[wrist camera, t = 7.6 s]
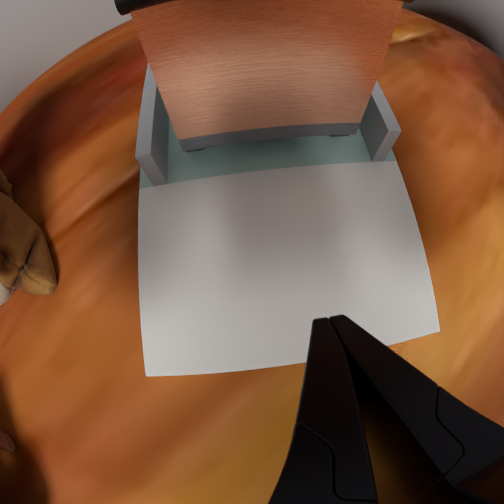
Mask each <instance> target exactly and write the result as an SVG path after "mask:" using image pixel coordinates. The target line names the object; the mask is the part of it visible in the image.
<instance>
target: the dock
mask: <svg viewBox="0 0 504 504" xmlns="http://www.w3.org/2000/svg"><path fill="white" fill-rule="evenodd" d="M400 133H401V128H400V126H399V124H398V122H397V120H396V118H395V116H394V114H393V111H392V109H391V107H390V105H389V103H388V101H387V99H386V97H385V96H384V94H383V92H382V90H381V88H380V86H379V84H378V82H377V81H376V83H375V86H374V88H373V91H372V94H371V96H370V99H369V102H368V104H367V107H366V110H365V112H364V115H363V117H362V120H361V122H360V125H359V128H358V130H357V133H356V134H350V135H349V136H343V137H330V136H329V135H324V136H307V137H293V138H281V139H271V140H261V141H252V142H243V143H235V144H228V145H220V146H213V147H207V148H206V149H205V150H200V151H193V152H186V151H182V148H181V146H180V143H179V141H178V138H177V136H176V133H175V131H174V128H173V125H172V123H171V120H170V118H169V115H168V113H167V110H166V107H165V105H164V102H163V100H162V97H161V94H160V92H159V89H158V87H157V84H156V81H155V79H154V76H153V73H152V71H151V68H150V65H149V63H148V66H147V71H146V77H145V83H144V89H143V95H142V102H141V109H140V116H139V124H138V133H137V142H136V152H135V158H136V159H137V161H138V163H139V164H140V183H139V206H138V278H139V302H140V319H141V332H142V344H143V354H144V364H145V373H146V376H176V375H195V374H210V373H223V372H234V371H244V370H253V369H261V368H269V367H277V366H284V365H291V364H297V363H304V362H306V360H307V354H308V348H309V341H310V334H311V327H312V321H313V319H317V318H323V317H327V318H329V317H330V316H335V315H340V314H343V315H346V316H347V317H348V318H350V319H351V320H352V321H354V322H355V323H356V324H358V325H359V326H360V327H362V328H363V329H364V330H366V331H367V332H369V333H370V334H371V335H373V336H374V337H375V338H377V339H378V340H379V341H381V342H382V343H383V344H385V345H386V346H388V345H392V344H396V343H400V342H404V341H408V340H411V339H415V338H419V337H422V336H426V335H429V334H433V333H436V332H439V331H440V327H439V320H438V314H437V308H436V302H435V297H434V291H433V286H432V281H431V277H430V272H429V267H428V263H427V259H426V255H425V251H424V247H423V243H422V239H421V235H420V231H419V228H418V224H417V221H416V217H415V214H414V211H413V207H412V204H411V201H410V198H409V195H408V192H407V189H406V186H405V183H404V180H403V177H402V174H401V172H400V169H399V166H398V163H397V161H396V158H395V156H394V153H393V150H392V147H393V145H394V143H395V142H396V140H397V138H398V136H399V135H400Z"/></svg>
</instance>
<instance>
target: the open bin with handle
mask: <svg viewBox="0 0 504 504" xmlns="http://www.w3.org/2000/svg"><path fill="white" fill-rule="evenodd" d="M114 1H115V5H116V8H117V10H118V12H119V13H120V14H121V15H125V14H128V13H131V16H132V19H133V22H134V24H135V27H136V30H137V33H138V35H139V38H140V41H141V44H142V46H143V49H144V52H145V55H146V57H147V60H148V63H149V65H150V68H151V71H152V73H153V76H154V79H155V81H156V84H157V87H158V89H159V92H160V94H161V97H162V100H163V102H164V105H165V107H166V110H167V113H168V115H169V118H170V120H171V123H172V125H173V128H174V131H175V133H176V136H177V138H178V141H179V143H180V146H181V148H182V151H186V152H193V151H200V150H205V149H206V148H207V147H213V146H220V145H228V144H235V143H243V142H252V141H261V140H271V139H281V138H293V137H307V136H324V135H329V136H330V137H343V136H349V135H350V134H356V133H357V130H358V128H359V125H360V122H361V120H362V117H363V115H364V112H365V110H366V107H367V104H368V102H369V99H370V96H371V94H372V91H373V88H374V86H375V83H376V80H377V77H378V75H379V72H380V69H381V66H382V64H383V61H384V58H385V55H386V52H387V49H388V46H389V44H390V41H391V38H392V35H393V32H394V29H395V26H396V23H397V20H398V17H399V13H400V10H401V7H402V4H403V2H404V3H412V2H413V1H414V0H114Z"/></svg>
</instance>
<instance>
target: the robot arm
mask: <svg viewBox="0 0 504 504" xmlns="http://www.w3.org/2000/svg"><path fill="white" fill-rule="evenodd" d="M268 504H504V427H502V426H500V425H499V424H497V423H495V422H493V421H492V420H490V419H488V418H486V417H485V416H483V415H481V414H480V413H478V412H477V411H475V410H473V409H472V408H470V407H469V406H467V405H465V404H464V403H463V402H461V401H460V400H458V399H457V398H456V397H454V396H453V395H451V394H450V393H449V392H447V391H446V390H445V389H443V388H442V387H441V386H438V385H437V384H436V383H435V382H434V381H432V380H431V379H430V378H428V377H427V376H426V375H425V374H423V373H422V372H421V371H419V370H418V369H417V368H415V367H414V366H413V365H411V364H410V363H409V362H407V361H406V360H405V359H403V358H402V357H401V356H399V355H398V354H397V353H395V352H394V351H393V350H391V349H390V348H389V347H387V346H386V345H385V344H383V343H382V342H381V341H379V340H378V339H377V338H375V337H374V336H373V335H371V334H370V333H369V332H367V331H366V330H364V329H363V328H362V327H360V326H359V325H358V324H356V323H355V322H354V321H352V320H351V319H350V318H348V317H347V316H346V315H343V314H340V315H335V316H330V317H329V318H327V317H323V318H317V319H313V321H312V327H311V334H310V341H309V348H308V354H307V360H306V366H305V372H304V378H303V384H302V390H301V395H300V401H299V406H298V411H297V416H296V424H295V426H294V430H293V435H292V440H291V444H290V447H289V451H288V455H287V458H286V461H285V464H284V467H283V469H282V472H281V475H280V477H279V480H278V482H277V484H276V487H275V489H274V491H273V494H272V496H271V498H270V500H269V502H268Z"/></svg>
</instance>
